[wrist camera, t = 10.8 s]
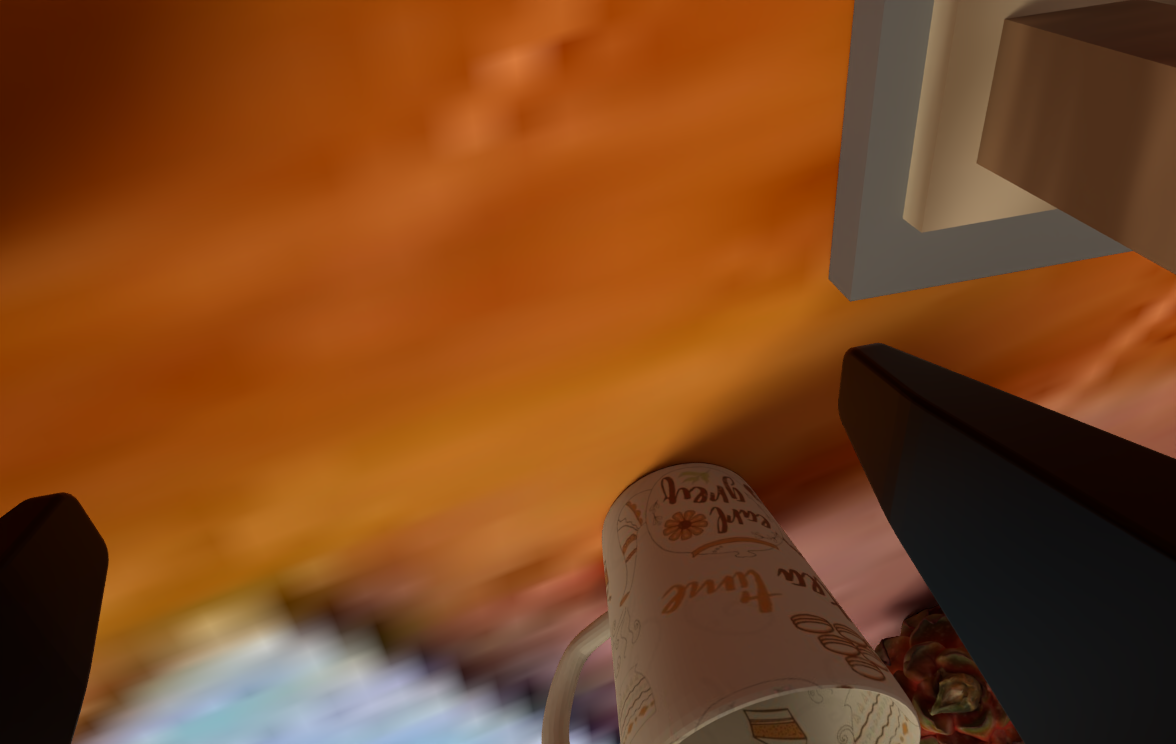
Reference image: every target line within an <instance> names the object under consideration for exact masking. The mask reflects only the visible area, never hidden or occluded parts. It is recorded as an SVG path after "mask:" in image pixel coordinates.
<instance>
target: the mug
mask: <svg viewBox="0 0 1176 744" xmlns="http://www.w3.org/2000/svg"><path fill="white" fill-rule="evenodd" d="M602 548H603V560H604V571H605V581H606V592H607V603H608V611H607V612H605V613H604V614H603V615H601V616H600V617H599V618H597V619H596V620H595V621H593V622H592V623H591V624H590V625H588V626H587V627H586V628H585V629H583V630H582V631H581V632H580V633H579V634H578V635H577V636H576V637H575V638H574V639H573V640H572V641H571V643H570V644H569V646H568V647H567V648H566V650H565V652H564V654H563V656H562V658H561V660H560V662H559V665H558V667H557V670H556V672H555V675H554V678H553V681H552V684H551V687H550V690H549V695H548V699H547V703H546V707H545V713H544V719H543V727H542V744H570V742H569V721H570V713H571V707H572V702H573V698H574V693H575V689H576V685H577V681H578V678H579V675H580V672H581V669H582V667H583V665H584V663H585V662H586V660H587V658H588V657H589V656H590V654H591V653H592V652H593V651H594V650H595V649H596V648H597V647H599V646H600V645H601V644H602V643H604V642H605V641H606V640H607V639H609V638H610V637H611V645H612V656H613V667H614V677H615V688H616V698H617V709H618V720H619V730H620V741H621V744H920V738H921V727H920V722H919V719H918V716H917V713H916V711H915V709H914V707H913V705H912V703H911V701H910V700H909V698H908V697H907V695H906V694H905V692H904V691H903V689H902V688H901V686H900V685H899V683H898V682H897V681H896V679H895V678H894V677H893V675H892V674H891V673H890V671H889V670H888V669H887V667H886V666H885V665H884V663H883V662H882V661H881V659H880V658H879V657H878V655H877V654H876V653H875V651H874V650H873V649H872V647H871V646H870V645H869V643H868V642H867V641H866V639H865V638H864V637H863V635H862V634H861V633H860V631H859V630H858V629H857V627H856V626H855V625H854V623H853V622H852V621H851V619H850V618H849V617H848V615H847V614H846V613H845V611H844V610H843V609H842V607H841V606H840V605H839V603H838V602H837V601H836V600H835V598H834V597H833V596H832V594H831V593H830V592H829V590H828V589H827V588H826V586H825V585H824V584H823V582H822V581H821V580H820V578H819V577H818V576H817V574H816V573H815V572H814V570H813V569H812V568H811V566H810V565H809V564H808V562H807V561H806V560H805V558H804V557H803V556H802V554H801V553H800V552H799V550H798V549H797V548H796V546H795V545H794V544H793V542H792V541H791V540H790V538H789V537H788V536H787V534H786V533H785V532H784V530H783V529H782V528H781V526H780V525H779V524H778V523H777V521H776V520H775V519H774V517H773V516H772V515H771V513H770V512H769V511H768V509H767V508H766V507H765V505H764V504H763V503H762V501H761V500H760V499H759V497H758V496H757V495H756V493H755V492H754V491H753V490H752V488H751V487H750V486H749V485H748V484H747V483H746V481H744V480H743V479H742V478H741V477H740V476H739V475H737V474H736V473H734V472H732V471H730V470H728V469H726V468H723V467H720V466H717V465H712V464H705V463H688V464H680V465H675V466H671V467H667V468H664V469H661V470H658V471H656V472H653V473H651V474H649V475H647V476H645V477H643V478H642V479H640V480H638V481H637V482H635V483H634V484H632V485H631V486H630V487H629V488H628V489H626V490H625V491H624V492H623V493H622V494H621V495H620V496H619V497H618V498H617V500H616V501H615V502H614V504H613V505H612V506H611V508H610V510H609V512H608V514H607V516H606V518H605V521H604V525H603V530H602Z"/></svg>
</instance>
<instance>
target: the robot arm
mask: <svg viewBox="0 0 1176 744" xmlns="http://www.w3.org/2000/svg"><path fill="white" fill-rule="evenodd" d="M838 410H839V415H840V419H841V421H842V424H843V426H844V428H845V430H846V432H847V435H848V437H849V439H850V441H851V443H852V445H853V448H854V450H855V452H856V454H857V456H858V458H859V460H860V463H861V465H862V467H863V469H864V471H865V473H866V475H867V478H868V480H869V482H870V484H871V486H872V488H873V491H874V493H875V495H876V497H877V499H878V501H879V503H880V506H881V508H882V510H883V512H884V514H885V516H886V518H887V520H888V522H889V523H890V525H891V527H892V529H893V530H894V532H895V534H896V535H897V537H898V539H899V541H900V542H901V544H902V545H903V547H904V549H905V550H906V552H907V554H908V555H909V557H910V558H911V560H912V562H913V563H914V565H915V567H916V568H917V570H918V571H919V573H920V575H921V576H922V578H923V580H924V581H925V583H926V584H927V586H928V588H929V589H930V591H931V593H932V594H933V596H934V597H935V599H936V601H937V602H938V604H939V606H940V607H941V609H942V610H943V612H944V614H945V615H946V617H947V619H948V620H949V622H950V623H951V625H952V627H953V628H954V630H955V632H956V633H957V635H958V636H959V638H960V640H961V641H962V643H963V645H964V646H965V648H966V649H967V651H968V653H969V654H970V656H971V658H972V659H973V661H974V662H975V664H976V666H977V667H978V669H979V671H980V672H981V674H982V675H983V677H984V679H985V680H986V682H987V684H988V685H989V687H990V688H991V690H992V692H993V693H994V695H995V697H996V698H997V700H998V701H999V703H1000V705H1001V706H1002V708H1003V710H1004V711H1005V713H1006V714H1007V716H1008V718H1009V719H1010V721H1011V723H1012V724H1013V726H1014V727H1015V729H1016V731H1017V732H1018V734H1019V735H1020V737H1021V739H1022V740H1023V742H1024V744H1176V459H1174V458H1172V457H1169V456H1167V455H1164V454H1162V453H1159V452H1157V451H1154V450H1151V449H1149V448H1146V447H1144V446H1141V445H1139V444H1136V443H1134V442H1131V441H1129V440H1126V439H1124V438H1121V437H1118V436H1116V435H1113V434H1111V433H1108V432H1106V431H1103V430H1101V429H1098V428H1096V427H1093V426H1091V425H1088V424H1085V423H1083V422H1080V421H1078V420H1075V419H1073V418H1070V417H1068V416H1065V415H1063V414H1060V413H1058V412H1055V411H1052V410H1050V409H1047V408H1045V407H1042V406H1040V405H1037V404H1035V403H1032V402H1030V401H1027V400H1025V399H1022V398H1019V397H1017V396H1014V395H1012V394H1009V393H1007V392H1004V391H1002V390H999V389H997V388H994V387H992V386H989V385H986V384H984V383H981V382H979V381H976V380H974V379H971V378H969V377H966V376H964V375H961V374H958V373H956V372H953V371H951V370H948V369H946V368H943V367H941V366H938V365H936V364H933V363H931V362H928V361H925V360H923V359H920V358H918V357H915V356H913V355H910V354H908V353H905V352H903V351H900V350H898V349H895V348H892V347H890V346H887V345H885V344H882V343H874V344H869V345H864V346H858V347H853V348H850V349H849V350H848V351H847V352H846V353H845V355H844V358H843V364H842V373H841V382H840V390H839V399H838ZM108 561H109V559H108V550H107V547H106V544H105V542H104V540H103V538H102V537H101V535H100V534H99V532H98V530H97V529H96V527H95V526H94V524H93V523H92V521H91V520H90V518H89V517H88V515H87V514H86V512H85V510H84V509H83V507H82V506H81V504H80V503H79V501H78V500H77V499H76V498H75V497H74V496H72V495H71V494H68V493H64V492H63V493H56V494H50V495H45V496H39V497H34V498H30V499H27V500H25V501H23V502H21V503H20V504H19V505H17V506H16V507H15V508H13V509H12V510H10V511H9V512H8V513H6V514H5V515H4V516H2V517H1V518H0V744H71V742H72V738H73V735H74V732H75V728H76V725H77V721H78V718H79V714H80V711H81V707H82V703H83V700H84V696H85V692H86V688H87V683H88V679H89V674H90V669H91V664H92V658H93V652H94V646H95V640H96V634H97V628H98V622H99V617H100V611H101V605H102V599H103V593H104V587H105V581H106V575H107V569H108Z"/></svg>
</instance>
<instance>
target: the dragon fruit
mask: <svg viewBox="0 0 1176 744" xmlns="http://www.w3.org/2000/svg"><path fill="white" fill-rule="evenodd" d="M875 653H876V654H877V655H878V657H879V658H880V659H881V661H882V662H883V663H884V665H885V666H886V667H887V669H888V670H889V671H890V673H891V674H892V675H893V677H894V678H895V679H896V681H897V682H898V683H899V685H900V686H901V688H902V689H903V691H904V692H905V694H906V695H907V697H908V698H909V700H910V701H911V703H912V705H913V707H914V709H915V711H916V713H917V716H918V719H919V722H920V727H921V738H920V744H1024V742H1023V740H1022V739H1021V737H1020V735H1019V734H1018V732H1017V731H1016V729H1015V727H1014V726H1013V724H1012V723H1011V721H1010V719H1009V718H1008V716H1007V714H1006V713H1005V711H1004V710H1003V708H1002V706H1001V705H1000V703H999V701H998V700H997V698H996V697H995V695H994V693H993V692H992V690H991V688H990V687H989V685H988V684H987V682H986V680H985V679H984V677H983V675H982V674H981V672H980V671H979V669H978V667H977V666H976V664H975V662H974V661H973V659H972V658H971V656H970V654H969V653H968V651H967V649H966V648H965V646H964V645H963V643H962V641H961V640H960V638H959V636H958V635H957V633H956V632H955V630H954V628H953V627H952V625H951V623H950V622H949V620H948V619H947V617H946V615H945V614H944V612H943V610H942V609H941V607H940V606H936V607H933V608H932V609H925V610H923V611H921V612H920V613H918V614H915V615H913V616H912V617H910V618H907V619H906V620H904V621H903V624H902V628H901V635H900V636H896V637H890V638H885V639H882V640H881V642H880V644H879V645H877V647H876V649H875Z"/></svg>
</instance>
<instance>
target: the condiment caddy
mask: <svg viewBox="0 0 1176 744" xmlns="http://www.w3.org/2000/svg"><path fill="white" fill-rule="evenodd" d="M1054 209H1059V210H1061V211H1063V212H1065V213H1066V214H1068V215H1070V216H1072V217H1074V218H1075V219H1077V220H1079V221H1081V222H1083V223H1084V224H1086V225H1088V226H1090V227H1092V228H1093V229H1095V230H1097V231H1099V232H1100V233H1102V234H1104V235H1106V236H1108V237H1109V238H1111V239H1113V240H1115V241H1117V242H1118V243H1120V244H1122V245H1124V246H1126V247H1127V248H1129V249H1131V250H1133V251H1135V252H1136V253H1138V254H1140V255H1142V256H1144V257H1145V258H1147V259H1149V260H1151V261H1153V262H1154V263H1156V264H1158V265H1160V266H1161V267H1163V268H1165V269H1167V270H1169V271H1170V272H1172V273H1174V274H1176V0H934V6H933V13H932V20H931V26H930V33H929V40H928V47H927V54H926V61H925V68H924V75H923V82H922V89H921V95H920V102H919V109H918V116H917V123H916V130H915V137H914V144H913V151H912V158H911V164H910V171H909V178H908V185H907V192H906V199H905V206H904V213H903V219H904V220H905V221H907V222H908V223H909V224H911V225H912V226H913V227H915V228H916V229H917V230H918V231H920V232H921V233H923V232H928V231H934V230H940V229H945V228H951V227H957V226H962V225H968V224H974V223H980V222H985V221H991V220H997V219H1002V218H1008V217H1014V216H1019V215H1025V214H1031V213H1037V212H1042V211H1048V210H1054Z"/></svg>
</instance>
